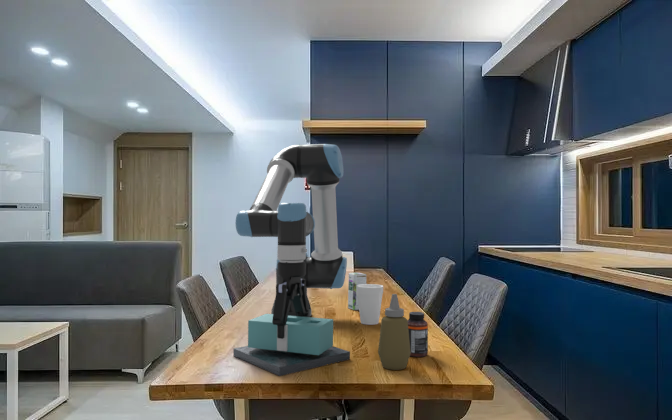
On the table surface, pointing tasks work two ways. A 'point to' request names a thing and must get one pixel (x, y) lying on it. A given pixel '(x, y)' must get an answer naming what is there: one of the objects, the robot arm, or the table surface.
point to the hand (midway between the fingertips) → (291, 345)
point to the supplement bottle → (418, 334)
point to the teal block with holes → (292, 334)
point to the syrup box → (354, 289)
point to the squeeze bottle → (394, 337)
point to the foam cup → (369, 302)
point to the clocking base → (289, 359)
